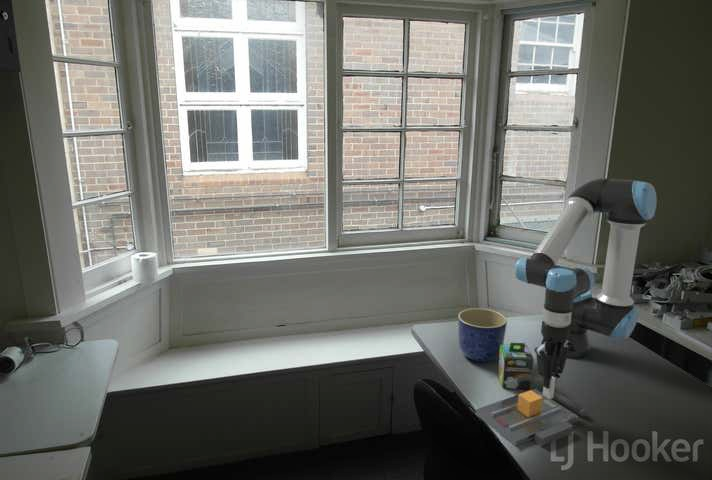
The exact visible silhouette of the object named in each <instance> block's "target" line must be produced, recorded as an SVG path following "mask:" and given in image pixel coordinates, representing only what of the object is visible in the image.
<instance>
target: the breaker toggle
mask: <svg viewBox="0 0 712 480" xmlns="http://www.w3.org/2000/svg"><path fill="white" fill-rule="evenodd" d="M532 390H533V389H530V390H527V391H525V392H521V393H519V394H517V395H518V404H517V410H518V411H520V412H521V413H523V414H524V415H525V416H527V417H528V418H529V417H532V416H534V415H537V414H539V413H541V409H542V399H543V398H542V397H541V396H539V395H538V394H536V393H535V392H533V391H532Z"/></svg>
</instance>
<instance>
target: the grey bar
mask: <svg viewBox="0 0 712 480" xmlns="http://www.w3.org/2000/svg"><path fill="white" fill-rule="evenodd" d="M573 430H574V425H573V424H572V423H571V424H570V423H568V422H567V421H565V422H563V423H560V424H558V425H555V426H553V427H550V428H548V429H546V430H543V431H541V432H538V433H536V434H535V439H533V440H534V443H536V445H539V447H544V446H546V445H549V444H552V443H553V442H555V441H558V440H560V439H562V438H565V437H567V436H569V435H572V434H573Z"/></svg>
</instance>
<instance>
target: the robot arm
mask: <svg viewBox="0 0 712 480" xmlns="http://www.w3.org/2000/svg"><path fill="white" fill-rule="evenodd" d="M657 198H658V197H657V193H656V189H655V187H654V185H653V184H651V183H649V182H645V181H639V180H631V179H614V178H608V177H601V178H596V179H592V180H589V181H587V182H586V183H584V184H582V185H581V186H579V187H578V188H576V189H575V190H574V191H572V192H571V194H570V195H569V196H568V197H567V198H566V200H565V201H564V209H563V210H562V212H561V213H560V214H559V216H558V217H557V219H556V220H555V222H554V223H553V225H552V226H551V227H550V229H549V230H548V232H547V233H546V235H545V236H544V238H543V239H542V241H541V242H540V243H539V245H538V246H537V248H536V249H535V251H534V252H533V253H532V255H531V256H530V257H520V258H519V259H518V260H517V261H516V263H515V267H514V275H515V278H516V280H518V281H521V282H523V283H526V284H528V285H529V284H530V285H534V286H537V287H541V288H545V291H544V292H545V293H544V303H543V311H542V318H541V319H542V322H541V330H540V333H541V336H542V341H541V345H540V346H539V347H534V352H535V354H536V361H537V362H536V363H537V364H536V365H537V373H538V376H540V377H541V378H543V380H542V388H543V392H542V393H543V395H544V396H546V397H547V398H549V399H552V398H553V396H554V391H555V387H556V384H557V379H560V378H561V376H560V375H561V374H563V372H564V368H565V364H566V361H567V358H571V359H581V358H582V359H583V358H586V357H588V356H589V355H590V352H591V345H590V341H589V337H588V336H589V335H588V331H591V332H594V333H597V334H601V335H604V336H607V337H609V338H614V339H616V340H621V341H622V340H626V339H628V338H629V336H631V334H632V333H633V331H634V329H635V327H636V325H637V323H638V320H639V316H640V311H639V309H637V308H636V307H634V304H635V301H634V300H633V298H631V296H630V295H631V290H632V283H633V278H634V277H633V276H634V271H635V270H634V269H635V266H636V265H635V264H636V258H637V257H636V256H637V252H638V251H637V250H638V244H639V240H640V239H639V238H640V231H641V228H642V227H644V226H645V225H647V222H648V220H652V219H653V218H654V216H655V213H656V212H655V211H656V210H657V204H658V203H657ZM595 213H601V214H606V221H607V222H608V224H609V225H610V230H609V235H608V243H607V250H606V256H605V257H606V258H605V265H604V270H603V271H604V272H603V279H602V286H601V292H599V293H597V294H596V296H595V297H593V293H592V291H590V290H592V288H593V287H594V285H595V283H596V282H595V276H594V273H593V272H592V271H591V270H590V269H588V268H586V267H584V266H582V267H581V266H580V267H575V268H569V267H566V266H562V265H559V264H558V265H557V263H558V261H559V260H560V259H561V257H562V256H563V255H564V253H565V251H566V249H568V247H569V245H570V243H571V242H572V241H573V239H574V237H576V235H577V234H578V232H579V230H580V228H582V225H583V224H584V223H585V221H586V220H587V219H591V217H593V215H594V214H595Z"/></svg>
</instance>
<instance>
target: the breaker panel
mask: <svg viewBox="0 0 712 480" xmlns="http://www.w3.org/2000/svg"><path fill="white" fill-rule="evenodd" d="M531 390H532V391H533V392H535V393H536V394H538V395H539V396H541V397H542V398H543V399H542V409H541V413H539V414H537V415H534V416H532V417H529V418H528V417H527V416H525V415H524V414H523V413H521V412H520V411H518V410H517V404H518V394H516V395H514V396H510V397H507V398H505V399H501V400H499V401H496V402H494V403H490V404H488V405H484V406H482V407H478V408H476V409H475V416H477V417H478V418H480V419H481V420H482V421H483V422H484V423H486V424H487V425H488V426H489V427H490V428H492V429H493V430H494V429H495V432H497V433H498V432H499V433H500V436H502V437H503V438H504V439H506V440H507V441H508V442H509V443H511V444H512V445H513V446H514V447H518V446H520V445H523V444H525V443H528V442H529V441H532V440H534V439H535V434H536V433H538V432H541V431H543V430H546V429H548V428H550V427H553V426H555V425H558V424H560V423H563V422H565V421H567V422H568V423H570V424H571V425H572V424H573V423H575V422H578V420H579V415H578V414H576V413H574V412H573V411H571V410H570V409H568V408H566V407H565V406H563V405H562V404H560V403H559V402H557V401H555V400H554V399H552V398H551V399H549V398H547V397H546V396H544V395H543V392H542V391H540V390H538V389H536V388H534V389H531ZM499 433H498V434H499Z"/></svg>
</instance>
